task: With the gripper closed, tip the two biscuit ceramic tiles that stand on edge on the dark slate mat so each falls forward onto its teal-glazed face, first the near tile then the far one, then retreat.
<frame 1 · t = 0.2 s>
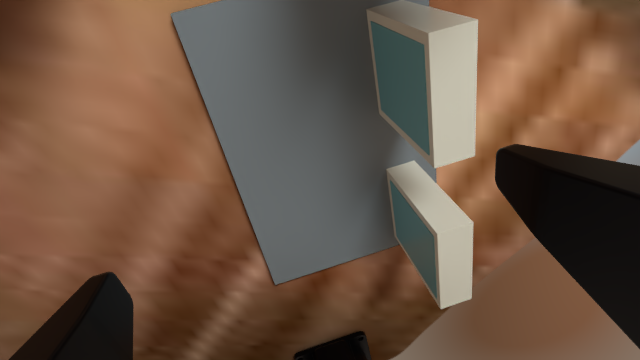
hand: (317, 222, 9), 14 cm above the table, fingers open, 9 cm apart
slate mat: (334, 146, 24), on the table
tile a: (403, 200, 27), resting on slate mat
tile b: (389, 60, 22), resting on slate mat
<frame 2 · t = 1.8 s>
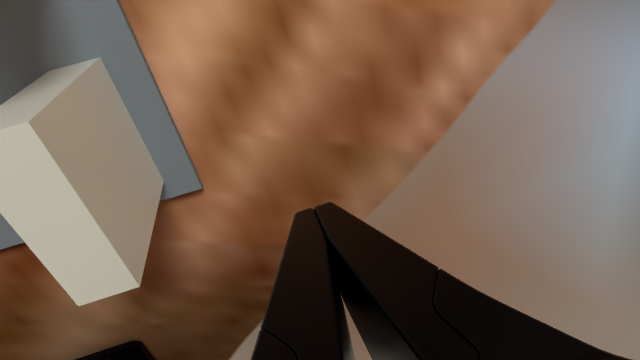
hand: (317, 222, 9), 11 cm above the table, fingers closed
tile a: (112, 131, 17), resting on slate mat
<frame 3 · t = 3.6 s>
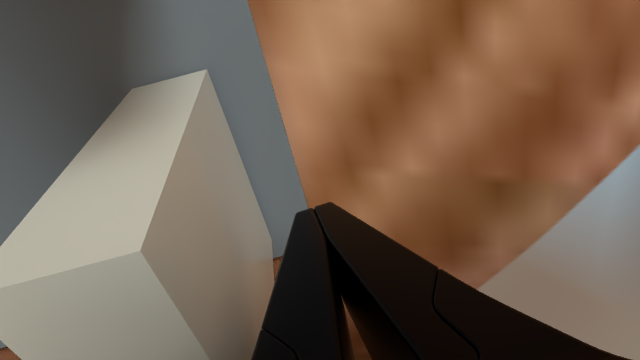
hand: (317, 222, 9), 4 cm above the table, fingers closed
tile a: (211, 174, 12), resting on slate mat, touching gripper
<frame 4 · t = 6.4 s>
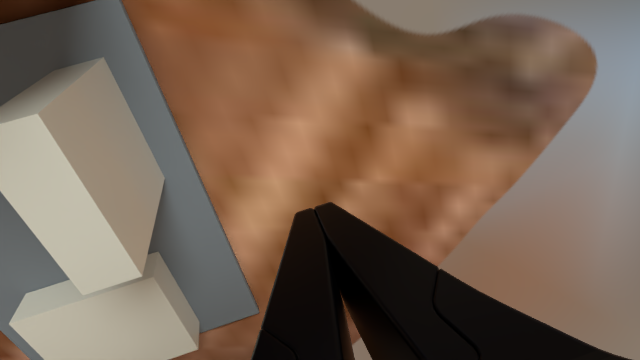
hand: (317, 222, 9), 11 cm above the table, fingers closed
slate mat: (80, 228, 20), on the table
tile a: (179, 301, 22), point 1 cm above the table, tilted 90°, touching slate mat
tile b: (114, 129, 17), resting on slate mat
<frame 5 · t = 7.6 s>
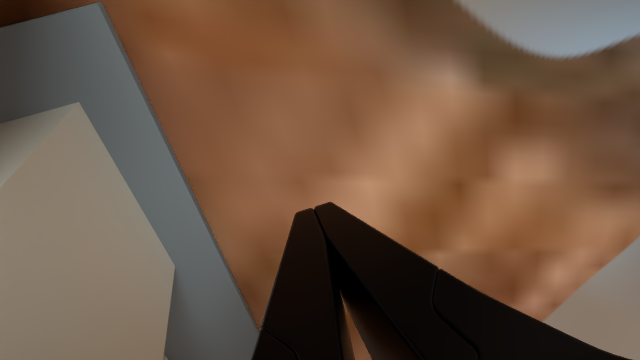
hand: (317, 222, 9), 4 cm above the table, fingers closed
slate mat: (55, 331, 14), on the table
tile b: (100, 205, 11), resting on slate mat
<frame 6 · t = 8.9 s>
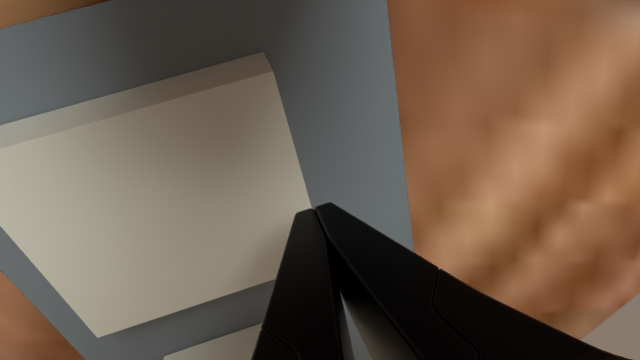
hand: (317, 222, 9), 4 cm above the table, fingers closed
slate mat: (243, 270, 14), on the table
tile b: (297, 164, 11), point 1 cm above the table, tilted 90°, touching slate mat
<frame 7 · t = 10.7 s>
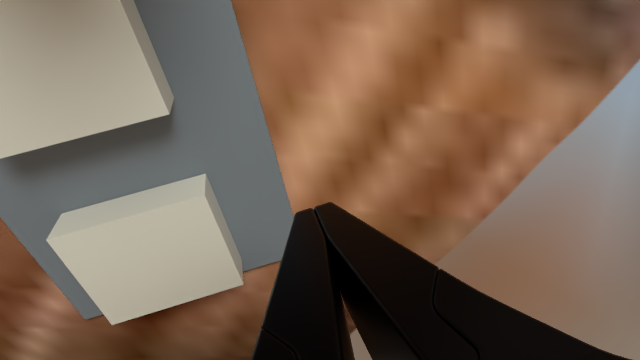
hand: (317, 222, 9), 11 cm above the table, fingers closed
slate mat: (124, 141, 18), on the table
tile a: (225, 231, 20), point 1 cm above the table, tilted 90°, touching slate mat
tile b: (140, 31, 14), point 1 cm above the table, tilted 90°, touching slate mat
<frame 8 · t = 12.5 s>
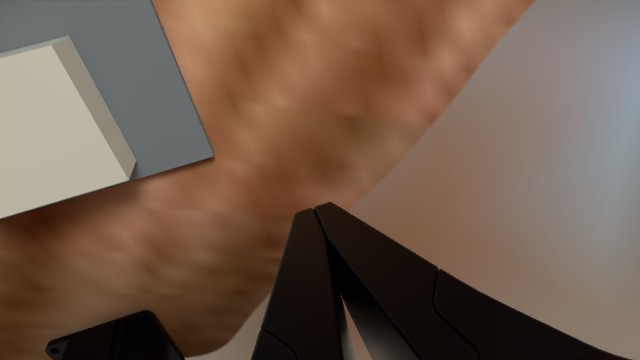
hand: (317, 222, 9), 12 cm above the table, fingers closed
tile a: (100, 111, 16), point 1 cm above the table, tilted 90°, touching slate mat
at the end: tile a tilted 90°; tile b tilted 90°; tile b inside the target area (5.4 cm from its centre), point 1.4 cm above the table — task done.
